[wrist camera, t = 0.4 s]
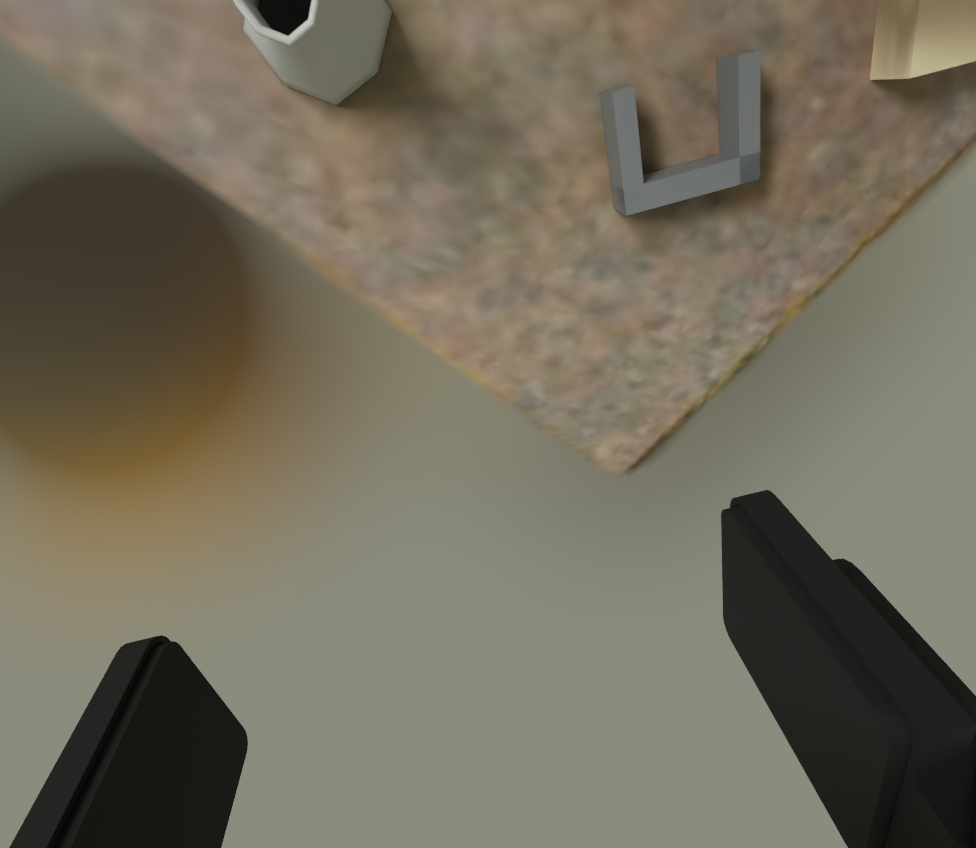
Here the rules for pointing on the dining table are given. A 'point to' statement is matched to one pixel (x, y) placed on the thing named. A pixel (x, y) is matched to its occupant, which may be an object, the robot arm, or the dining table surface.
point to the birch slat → (922, 37)
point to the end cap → (699, 175)
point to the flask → (319, 42)
